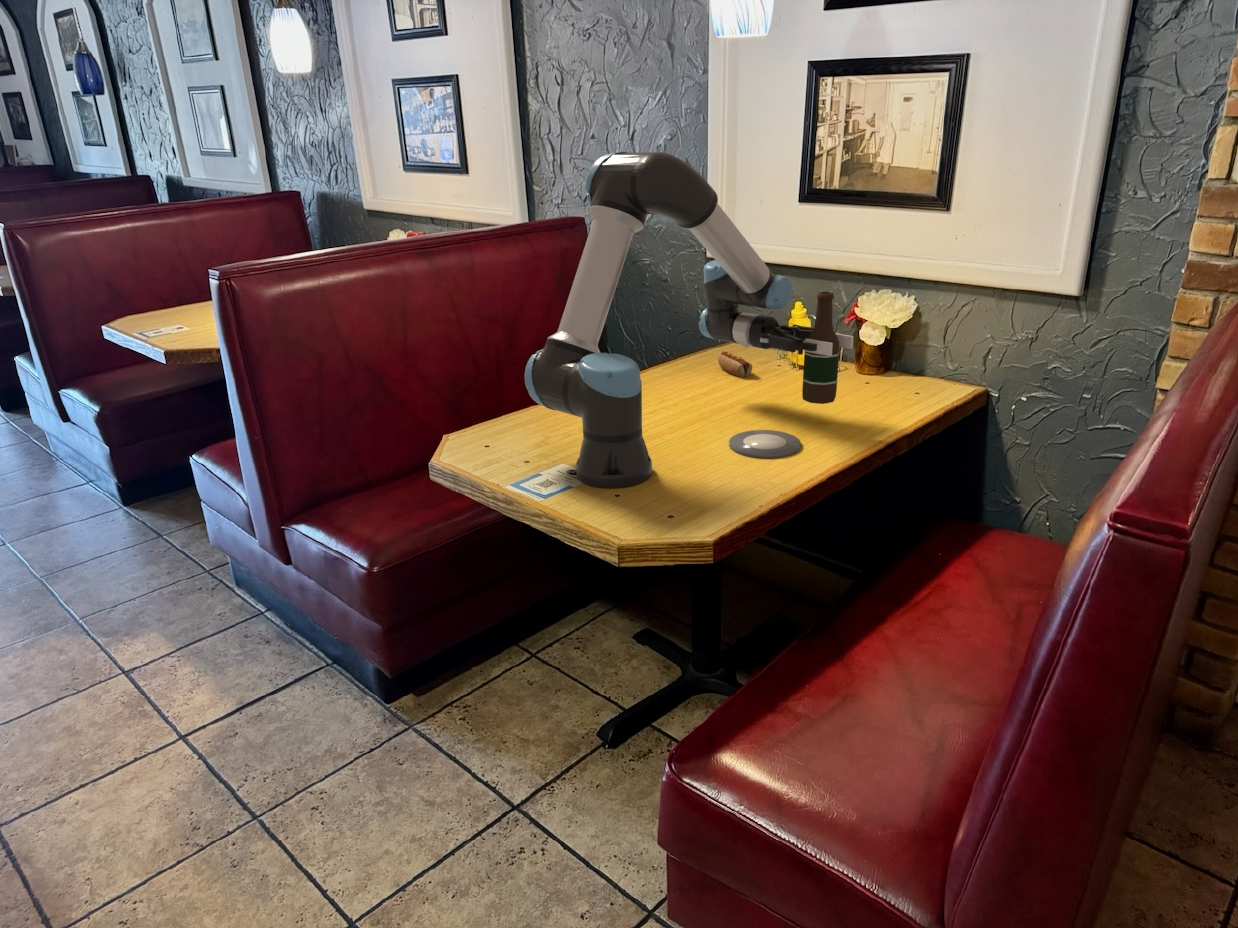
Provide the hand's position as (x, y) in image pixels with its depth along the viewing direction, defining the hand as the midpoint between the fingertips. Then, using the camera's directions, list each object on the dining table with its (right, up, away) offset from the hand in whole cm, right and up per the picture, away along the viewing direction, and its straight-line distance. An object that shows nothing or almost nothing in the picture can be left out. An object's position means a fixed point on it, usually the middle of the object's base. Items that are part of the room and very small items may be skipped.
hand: (841, 346), depth 183 cm
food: (-16, 0, +51) cm, 53 cm away
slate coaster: (-17, -22, -2) cm, 28 cm away
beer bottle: (-3, -11, +8) cm, 14 cm away
